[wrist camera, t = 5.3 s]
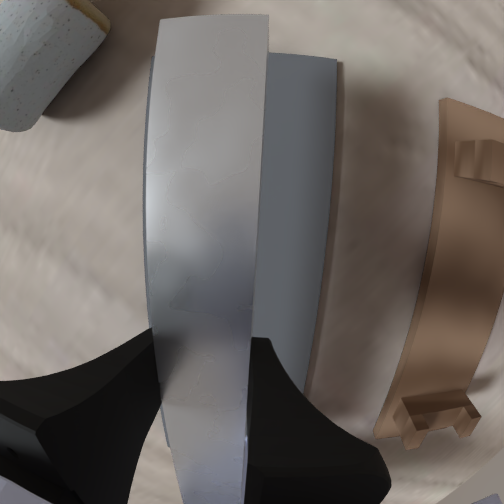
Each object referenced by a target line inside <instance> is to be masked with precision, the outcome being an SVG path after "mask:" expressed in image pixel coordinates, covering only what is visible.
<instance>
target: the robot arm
mask: <svg viewBox="0 0 504 504" xmlns="http://www.w3.org/2000/svg"><path fill="white" fill-rule="evenodd" d="M161 404H162V400H161V394H160V387H159V381H158V374H157V366H156V358H155V350H154V341H153V332H152V327H151V328H149V329H147V330H146V331H144V332H142V333H141V334H139V335H137V336H136V337H134V338H132V339H131V340H129V341H127V342H125V343H124V344H122V345H120V346H119V347H117V348H115V349H113V350H111V351H109V352H107V353H105V354H104V355H102V356H100V357H98V358H96V359H94V360H91V361H89V362H87V363H84V364H82V365H79V366H77V367H74V368H71V369H68V370H65V371H61V372H58V373H54V374H50V375H46V376H42V377H36V378H30V379H24V380H13V381H0V504H127V503H128V498H129V494H130V489H131V485H132V481H133V477H134V473H135V469H136V466H137V462H138V459H139V456H140V452H141V449H142V446H143V443H144V441H145V438H146V436H147V434H148V432H149V429H150V427H151V425H152V423H153V421H154V419H155V417H156V414H157V412H158V410H159V408H160V406H161ZM390 488H391V478H390V475H389V472H388V469H387V467H386V464H385V462H384V460H383V458H382V456H381V454H380V452H379V450H378V449H377V448H376V447H374V446H372V445H370V444H368V443H366V442H364V441H362V440H360V439H358V438H356V437H354V436H353V435H351V434H349V433H348V432H346V431H345V430H343V429H342V428H340V427H339V426H337V425H336V424H334V423H333V422H332V421H331V420H329V419H328V418H327V417H326V416H325V415H323V414H322V413H321V412H320V411H318V410H317V409H316V408H315V407H314V406H313V405H312V404H311V403H310V402H309V401H308V399H307V398H306V397H305V396H304V395H303V394H302V393H301V392H300V390H299V389H298V388H297V386H296V385H295V384H294V382H293V381H292V380H291V378H290V377H289V375H288V374H287V372H286V371H285V369H284V367H283V366H282V364H281V362H280V360H279V358H278V356H277V354H276V352H275V350H274V348H273V345H272V342H271V340H270V339H269V338H263V337H252V339H251V347H250V362H249V378H248V394H247V435H246V441H245V456H244V470H243V485H242V496H241V504H380V503H381V502H382V500H383V499H384V498H385V496H386V495H387V494H388V492H389V490H390ZM472 504H502V502H501V500H500V498H499V496H498V494H496V493H495V494H493V495H490V496H488V497H486V498H484V499H481V500H479V501H477V502H474V503H472Z"/></svg>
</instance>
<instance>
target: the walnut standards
mask: <svg viewBox="0 0 504 504" xmlns="http://www.w3.org/2000/svg"><path fill="white" fill-rule="evenodd" d="M503 292H504V119H503V118H501V117H498V116H496V115H494V114H491V113H489V112H486V111H484V110H481V109H478V108H476V107H473V106H470V105H468V104H465V103H462V102H459V101H456V100H453V99H450V98H445V99H441V100H439V148H438V166H437V179H436V190H435V200H434V209H433V216H432V224H431V231H430V237H429V243H428V249H427V255H426V260H425V265H424V270H423V275H422V280H421V284H420V289H419V293H418V297H417V301H416V306H415V309H414V313H413V317H412V321H411V325H410V328H409V332H408V335H407V339H406V342H405V345H404V348H403V352H402V355H401V358H400V361H399V364H398V367H397V370H396V373H395V376H394V379H393V381H392V384H391V387H390V390H389V392H388V395H387V398H386V400H385V403H384V405H383V408H382V410H381V413H380V415H379V417H378V420H377V422H376V425H375V427H374V429H373V432H374V435H375V438H376V439H381V438H389V437H397V436H400V437H401V439H402V442H403V444H404V446H405V449H406V450H410V449H415V448H419V446H420V444H421V443H422V441H423V439H424V438H425V436H426V434H427V432H428V431H433V430H438V429H443V428H447V427H449V426H453V427H454V429H455V430H456V432H457V434H458V435H459V437H460V438H463V437H467V436H470V435H471V433H472V431H473V430H474V428H475V427H476V425H477V423H478V422H479V420H480V418H481V415H480V414H479V412H478V411H477V410H476V408H475V407H474V405H473V404H472V402H471V401H470V400H469V398H468V397H467V395H466V394H465V392H466V390H467V388H468V386H469V384H470V382H471V379H472V377H473V375H474V373H475V371H476V368H477V366H478V364H479V361H480V359H481V356H482V354H483V351H484V349H485V346H486V344H487V341H488V338H489V336H490V333H491V330H492V327H493V324H494V321H495V318H496V315H497V312H498V309H499V306H500V302H501V299H502V295H503Z"/></svg>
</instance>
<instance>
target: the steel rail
mask: <svg viewBox="0 0 504 504" xmlns="http://www.w3.org/2000/svg"><path fill="white" fill-rule="evenodd" d="M268 54H269V15H262V14H220V15H200V16H187V17H177V18H168V19H160V24H159V31H158V37H157V44H156V52H155V59H154V68H153V76H152V86H151V97H150V109H149V122H148V139H147V163H146V242H147V267H148V284H149V298H150V311H151V322H152V332H153V341H154V350H155V358H156V366H157V374H158V381H159V387H160V394H161V400H162V406H163V412H164V418H165V423H166V429H167V434H168V439H169V444H170V449H171V454H172V458H173V463H174V467H175V471H176V476H177V480H178V484H179V488H180V492H181V496H182V500H183V503H184V504H241V496H242V485H243V470H244V456H245V441H246V427H247V394H248V378H249V362H250V347H251V339H252V335H253V319H254V303H255V286H256V270H257V253H258V236H259V219H260V202H261V185H262V167H263V149H264V130H265V112H266V93H267V74H268Z"/></svg>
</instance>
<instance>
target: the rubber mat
mask: <svg viewBox="0 0 504 504" xmlns="http://www.w3.org/2000/svg"><path fill="white" fill-rule="evenodd" d="M154 59H155V56H152V60H151V68H150V77H149V87H148V97H147V109H146V122H145V139H144V162H143V243H144V266H145V283H146V297H147V309H148V320H149V328H151V327H152V322H151V311H150V298H149V284H148V267H147V242H146V163H147V139H148V122H149V109H150V97H151V86H152V76H153V68H154ZM336 93H337V59H331V58H323V57H315V56H306V55H296V54H283V53H269V54H268V74H267V93H266V112H265V130H264V149H263V167H262V185H261V202H260V219H259V236H258V253H257V270H256V286H255V303H254V319H253V335H252V337H263V338H269V339H270V340H271V342H272V345H273V348H274V350H275V352H276V354H277V356H278V358H279V360H280V362H281V364H282V366H283V367H284V369H285V371H286V372H287V374H288V375H289V377H290V378H291V380H292V381H293V382H294V384H295V385H296V386H297V388H298V389H299V390H300V392H301V393H302V394H303V392H304V387H305V382H306V377H307V371H308V366H309V360H310V354H311V349H312V343H313V337H314V331H315V324H316V318H317V311H318V304H319V297H320V290H321V283H322V275H323V267H324V259H325V251H326V242H327V232H328V223H329V212H330V201H331V189H332V176H333V162H334V145H335V124H336ZM160 409H161V415H162V420H163V426H164V431H165V436H166V441H167V445H168V447H170V444H169V439H168V434H167V429H166V423H165V418H164V412H163V406H162V404H161V406H160ZM246 435H247V427H246Z"/></svg>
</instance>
